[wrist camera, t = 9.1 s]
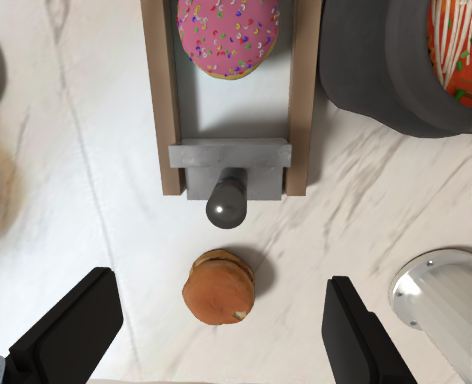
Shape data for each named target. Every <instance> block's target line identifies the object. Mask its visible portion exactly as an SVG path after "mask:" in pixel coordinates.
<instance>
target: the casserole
mask: <svg viewBox="0 0 472 384" xmlns="http://www.w3.org/2000/svg"><path fill="white" fill-rule="evenodd" d="M317 68H318V72H319V77H320V81H321V85H322V87H323V89H324V91H325V93H326V95H327V97H328V99H329V100H330V101H331V102H333V103H334V104H335V105H336V106H337V107H338V108H340V109H344V110H347V111H351V112H354V113H358V114H361V115H365V116H368V117H371V118H373V119H375V120H377V121H379V122H381V123H383V124H385V125H386V126H388V127H390V128H392V129H394V130H396V131H398V132H400V133H402V134H406V135H410V136H414V137H418V138H443V137H450V136H456V135H460V134H472V0H325V2H324V5H323V9H322V12H321V16H320V26H319V38H318V50H317Z"/></svg>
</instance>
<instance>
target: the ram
mask: <svg viewBox="0 0 472 384" xmlns="http://www.w3.org/2000/svg"><path fill="white" fill-rule="evenodd" d="M168 148H169V158H170V167H171V168H183V167H185V177H186V189H187V200H208V202H207V205H206V214H207V217H208V219H209V220H210V222H211V223H212V224H214V225H215V226H217V227H219V228H222V229H232V228H235V227H237V226H239V225H240V224H241V223H242V222H243V221H244V219H245V217H246V213H247V200H281V194H282V174H283V167H290V166H291V149H292V145H291V144H290V143H289V142H287V141H286V140H285V139H284V138H194V139H183V140H181V141H178V142H176V143H174V144H171V145H169V146H168Z"/></svg>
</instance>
